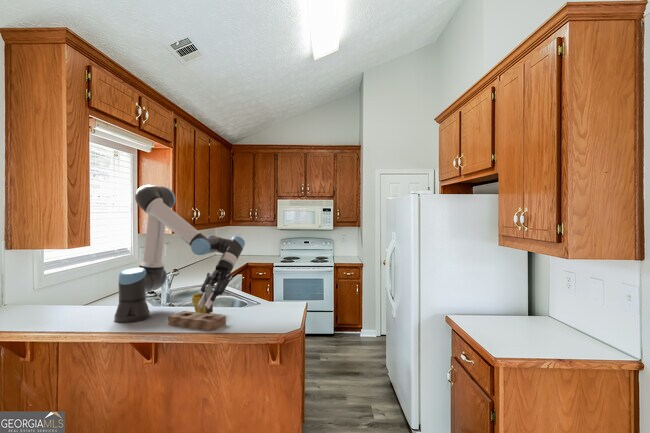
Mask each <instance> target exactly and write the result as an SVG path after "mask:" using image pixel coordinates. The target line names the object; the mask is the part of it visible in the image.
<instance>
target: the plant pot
mask: <svg viewBox="0 0 650 433" xmlns="http://www.w3.org/2000/svg"><path fill="white" fill-rule="evenodd" d="M202 294H203V292H202V293H201V292H200V293H195V294H193V295H192V297H191V300H192V302H191V303H192V304H193V307H194V312H198V313H205V303H204V305H203V307H202V308H200V307H199V306H198V303H199V301H200V297H201V295H202ZM214 302H215V301H213V303H214ZM206 314H211V313H206Z"/></svg>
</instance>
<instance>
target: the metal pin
mask: <svg viewBox="0 0 650 433" xmlns="http://www.w3.org/2000/svg"><path fill="white" fill-rule="evenodd" d="M213 287H214V286H213V285H205V304H206V302H207V300H208V298H209V296H210V294H211V293H214V292H213V291H214V289H213ZM213 311H214V302H212V304H211V306H210V308H209V309H208V308H207V307H206V306H205V313H210V314H212V313H213Z"/></svg>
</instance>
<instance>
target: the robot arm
mask: <svg viewBox="0 0 650 433" xmlns="http://www.w3.org/2000/svg"><path fill="white" fill-rule="evenodd" d="M134 198H135V202H136V204H137V206H138V207H139V208H140V209H141V210H142V211H144V212H145V213H146V214H147V222H146V232H145V240H144V241H145V242H144V251H143V260H142V261H141V262H140V263H139V267H132V268H127V269H123V270H121V271H120V272H119V275H118V280H117V281H118V305H117V308H116V310H115V311H116V312H115V313H114V320H113V321H114V322H117V323H133V322H140V321H143V320H147V319H149V318H150V317H151V315H150V314H151V311H150V310H149V305H148V302H147V293H149V292H152V291H156V290H158V289H160V288H162V287H164V285H165V284H166V283H167V280H168V273H167V271H166V269H165V264H164V262H162V260H163V259H162V257H163V251H164V250H163V249H164V241H165V231H166V227H167V228H168V229H169V230H170V231H172V233H174V234H176V236H178V237H179V238H180V239H181V240H183V241H184V242H185V243H186V244H188V245H189V246H190V248H191V251H192V253H193V254H194V255H197V256H204V255H208V254H213V253H219V254H222V255H221V256H220V258H219V260H218V262H217V263H216V265H215V270H214V271H212V272H211V273H210V272H207V273H206V277H205V280H204V281H203V283H202V286H201V287H200V291H201V292H202V293H203V294H202V295H201V297H200V301H199V303H198V306H199V307H200V308H202V307H203V305H204V303H205V285H213V287H214V286H215V287H214V289H213V293H211V294H210V296H209V298H208V300H207V302H206V304H205V306H206V307H207V308H208V309H209V308H210V306H211V304H212V302H213V301H214V302H215V301H216V299H217V296H219V295H220V296H222V295H223V294H224V292H225V290H226V289H227V286H228V285H229V283H230V282H231V281H232V280H233V278H234V277H233V276H232V275H231V273H232V271H233V269H234V267H235V265H236V263H237V261H238V259H239V257H240V255H241V254H242V252H243V250H244V247H245V246H246V242H245V239H243V238H242V237H241V236H237V235H234V236H232V237H231V238H230V239H229V238H223V237H221V236H220V237H219V236H216V235H210V234H208V235H206V236H205V235H204V234H202V233H201V232H200V231H199V230H197V229H196V227H194V226H193V225H192V224H190V223H189V222H188V221H186V220H185V219H184V218H183V217H182V216H181V215H179V214H178V213H177V212H176V211H174V210H173V209H172V208H173V207H174V206H175V204H176V202H177V200H176V195H175V193H174V191H173V190H172V189H170V188H169V187H166V186H163V185H162V186H161V185H151V184H146V185H142V186H140V187H139V188H138V189H137V190H136V192H135V196H134ZM214 302H213V303H214Z"/></svg>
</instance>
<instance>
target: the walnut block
mask: <svg viewBox="0 0 650 433" xmlns="http://www.w3.org/2000/svg"><path fill="white" fill-rule="evenodd" d="M167 318H168V319H167V320H168V322H167V323H168V326H174V327H180V328H181V327H182V328H187V329H193V330H202V331H207V332H208V331H209V332H212V331H215V330H218V329H220V328H222V327H224V326H226V325H227V316H226V315H221V314H212V313H210V314H206V313H198V312H195V311H189V310H182V311H180V312H179V311H178V312H176V313H173V314H171V315H168V316H167Z"/></svg>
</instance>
